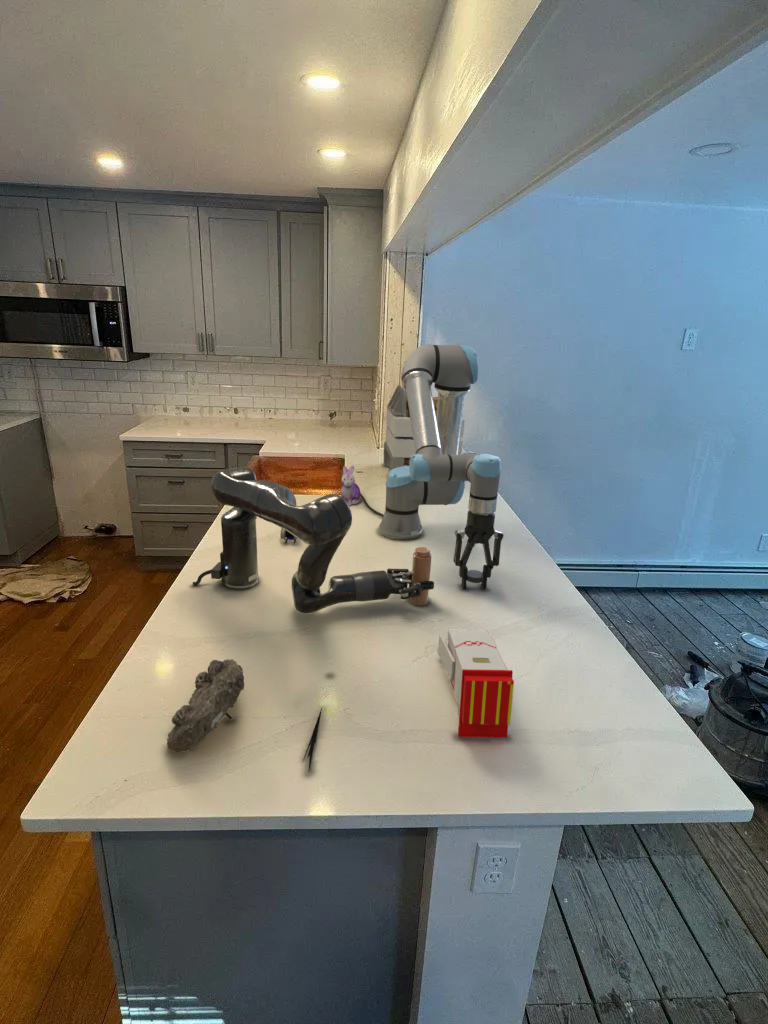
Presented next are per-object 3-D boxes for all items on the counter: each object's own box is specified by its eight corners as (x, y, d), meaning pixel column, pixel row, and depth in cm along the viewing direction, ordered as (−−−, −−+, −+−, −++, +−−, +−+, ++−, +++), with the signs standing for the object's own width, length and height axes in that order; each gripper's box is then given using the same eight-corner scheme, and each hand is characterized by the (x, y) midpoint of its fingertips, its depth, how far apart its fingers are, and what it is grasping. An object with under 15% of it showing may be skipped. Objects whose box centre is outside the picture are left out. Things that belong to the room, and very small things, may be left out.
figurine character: (300, 550, 186) (305, 528, 199) (299, 529, 183) (304, 509, 196) (279, 549, 186) (286, 528, 199) (278, 529, 182) (285, 508, 196)
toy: (488, 613, 130) (523, 677, 101) (484, 667, 133) (517, 744, 104) (435, 612, 130) (455, 676, 101) (432, 666, 133) (451, 743, 103)
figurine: (344, 507, 223) (345, 470, 218) (334, 499, 232) (334, 463, 227) (366, 504, 228) (367, 468, 223) (355, 496, 236) (356, 461, 231)
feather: (331, 679, 122) (336, 673, 122) (307, 777, 96) (313, 769, 95) (324, 675, 122) (329, 669, 121) (298, 772, 95) (304, 764, 95)
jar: (418, 595, 158) (422, 544, 153) (431, 602, 154) (435, 550, 149) (406, 600, 155) (409, 548, 149) (419, 607, 151) (422, 555, 146)
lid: (469, 584, 159) (470, 578, 159) (462, 575, 164) (462, 570, 164) (487, 582, 161) (487, 577, 160) (479, 574, 166) (479, 569, 165)
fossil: (192, 660, 117) (244, 628, 112) (224, 691, 120) (276, 661, 115) (142, 746, 98) (202, 712, 93) (182, 779, 101) (242, 748, 96)
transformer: (382, 463, 289) (386, 382, 275) (445, 464, 293) (451, 384, 279) (390, 482, 257) (394, 392, 243) (460, 483, 261) (468, 394, 247)
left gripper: (377, 585, 141) (440, 579, 145) (362, 561, 154) (421, 556, 158) (376, 612, 143) (438, 605, 148) (361, 586, 156) (419, 580, 161)
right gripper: (509, 507, 160) (500, 581, 168) (446, 506, 158) (439, 581, 166) (518, 516, 153) (508, 593, 161) (451, 515, 151) (444, 593, 159)
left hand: (429, 580), depth 153 cm, fingers closed on jar, 5 cm apart
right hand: (473, 587), depth 163 cm, fingers closed on lid, 5 cm apart
